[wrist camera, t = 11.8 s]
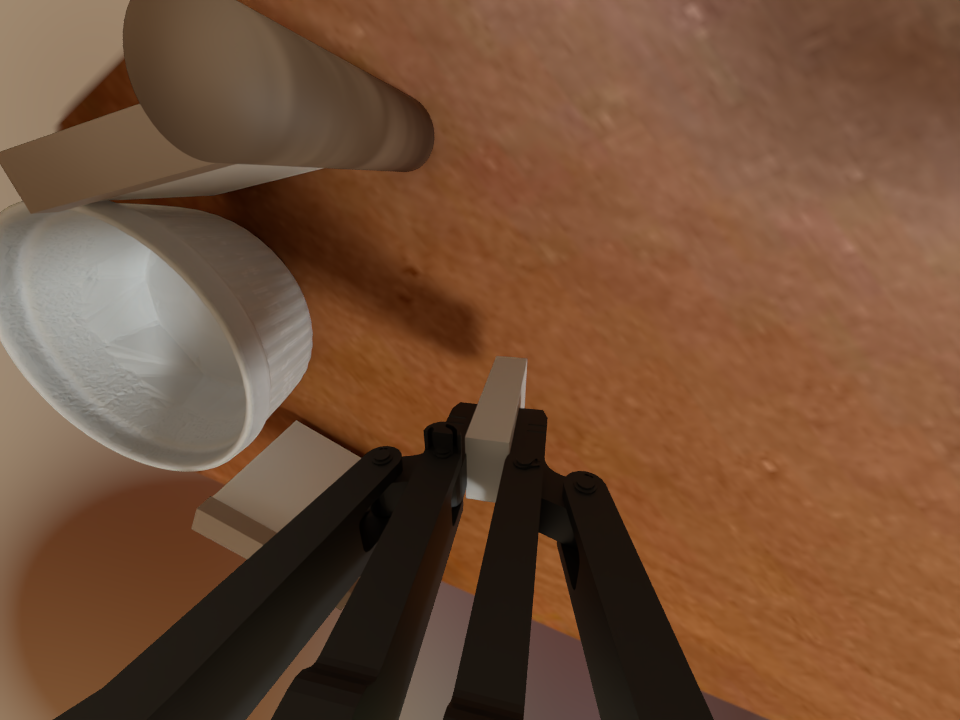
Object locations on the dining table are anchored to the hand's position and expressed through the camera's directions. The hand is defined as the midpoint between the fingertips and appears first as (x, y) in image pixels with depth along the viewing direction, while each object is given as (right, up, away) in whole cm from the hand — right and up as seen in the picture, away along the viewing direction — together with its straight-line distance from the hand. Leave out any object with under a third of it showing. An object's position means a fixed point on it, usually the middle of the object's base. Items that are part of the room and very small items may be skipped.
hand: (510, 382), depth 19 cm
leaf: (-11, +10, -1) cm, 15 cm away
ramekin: (-16, +4, +5) cm, 18 cm away
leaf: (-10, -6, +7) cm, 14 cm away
